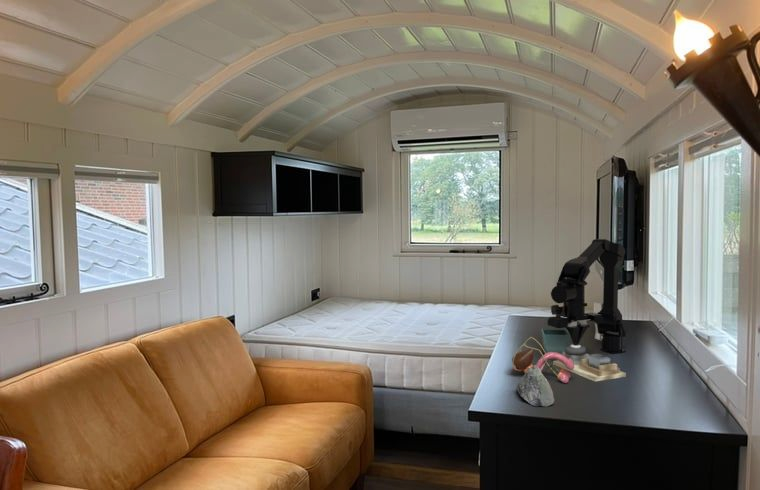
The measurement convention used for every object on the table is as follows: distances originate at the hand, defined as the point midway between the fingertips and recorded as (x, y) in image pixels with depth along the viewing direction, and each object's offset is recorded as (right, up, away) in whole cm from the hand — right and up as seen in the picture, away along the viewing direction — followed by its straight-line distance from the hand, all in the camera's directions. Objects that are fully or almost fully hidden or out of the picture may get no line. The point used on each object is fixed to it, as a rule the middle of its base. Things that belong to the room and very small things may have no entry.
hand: (575, 345), depth 180 cm
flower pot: (-3, -6, +12) cm, 14 cm away
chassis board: (+2, -7, -5) cm, 9 cm away
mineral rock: (-22, -10, -30) cm, 39 cm away
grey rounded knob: (0, -5, 0) cm, 5 cm away
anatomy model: (-15, -8, -12) cm, 21 cm away
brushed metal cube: (+4, -6, -10) cm, 12 cm away
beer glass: (+24, -4, +35) cm, 43 cm away
